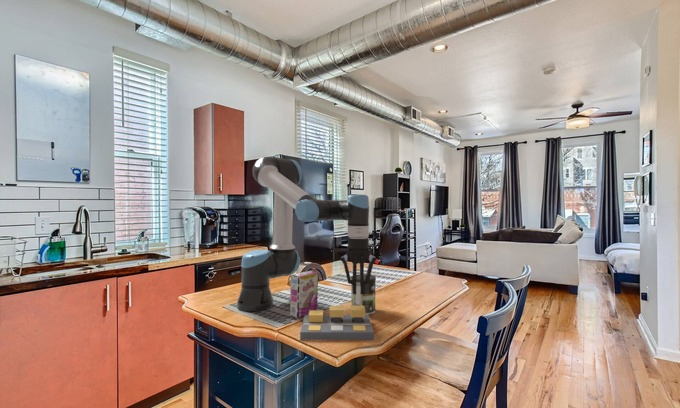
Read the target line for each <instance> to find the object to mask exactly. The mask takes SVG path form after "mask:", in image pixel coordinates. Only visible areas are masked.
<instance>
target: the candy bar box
mask: <svg viewBox="0 0 680 408" xmlns="http://www.w3.org/2000/svg"><path fill="white" fill-rule="evenodd" d="M318 285H319V272H318V271H312V270H308V271H303V272H298V273H294V274H291V275H290V293H289V294H290V295H289V297H290V298H289V300H290V301H289V303H290V304H289V317H292V318H294V319H300V318H304V316H305V315H309V311H310V310H318V296H319V295H318V294H319V293H318V292H319V286H318Z"/></svg>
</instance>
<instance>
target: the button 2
mask: <svg viewBox="0 0 680 408" xmlns="http://www.w3.org/2000/svg"><path fill="white" fill-rule="evenodd" d="M329 315H330V317H333V322H341V317H344V315H345V305H330V306H329Z"/></svg>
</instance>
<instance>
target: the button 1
mask: <svg viewBox="0 0 680 408" xmlns="http://www.w3.org/2000/svg"><path fill="white" fill-rule="evenodd" d="M323 315H324V310H318V309H317V310H310V311H309V315H308V322H323Z"/></svg>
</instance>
